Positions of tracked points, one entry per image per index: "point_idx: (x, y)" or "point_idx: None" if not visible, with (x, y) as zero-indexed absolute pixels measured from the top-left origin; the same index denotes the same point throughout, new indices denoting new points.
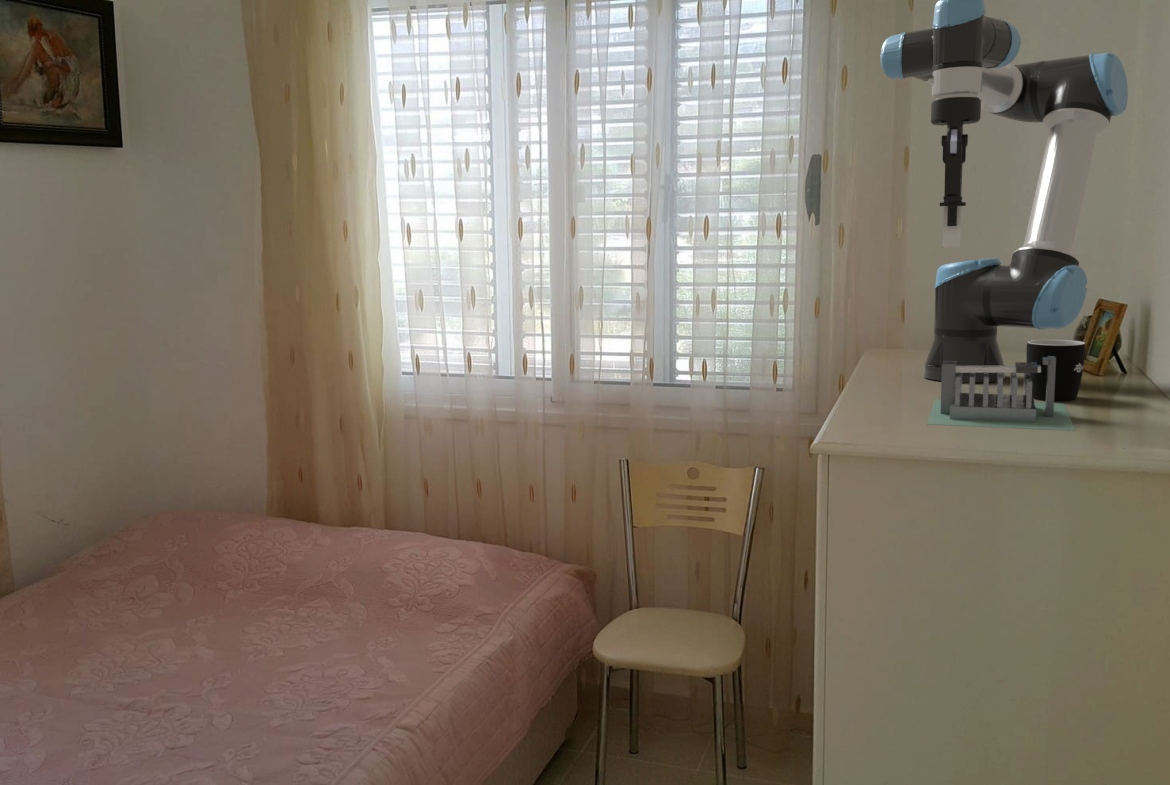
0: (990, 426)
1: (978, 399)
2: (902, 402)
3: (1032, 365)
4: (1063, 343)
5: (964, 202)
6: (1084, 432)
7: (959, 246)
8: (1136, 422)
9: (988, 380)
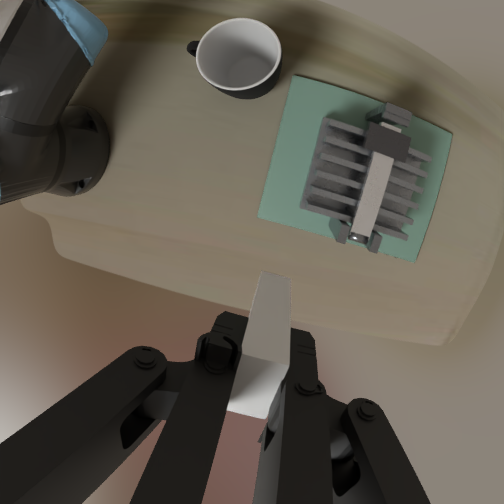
0: (432, 206)
1: (356, 192)
2: (253, 252)
3: (401, 139)
4: (207, 38)
5: (239, 355)
6: (439, 120)
7: (290, 280)
8: (386, 46)
9: (415, 203)
